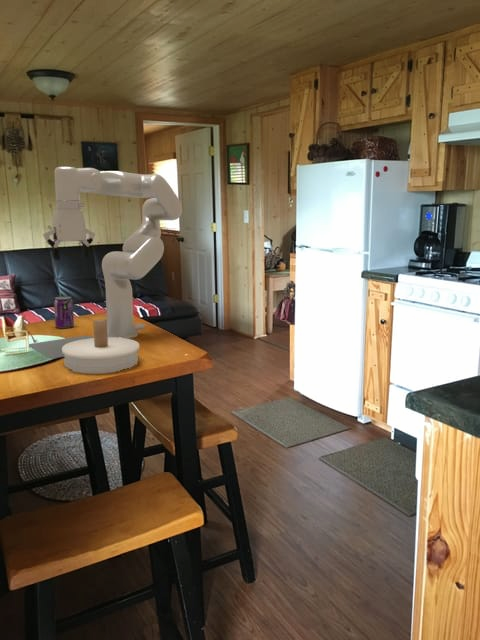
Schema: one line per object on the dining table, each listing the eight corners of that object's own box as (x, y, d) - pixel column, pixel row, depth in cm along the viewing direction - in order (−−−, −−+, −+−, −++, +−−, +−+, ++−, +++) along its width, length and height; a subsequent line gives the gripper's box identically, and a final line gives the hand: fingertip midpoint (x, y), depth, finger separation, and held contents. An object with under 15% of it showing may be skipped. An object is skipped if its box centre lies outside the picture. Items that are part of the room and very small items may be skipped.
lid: (117, 337, 184) (116, 310, 182) (153, 350, 166) (152, 321, 165) (50, 347, 169) (48, 318, 167) (81, 363, 152) (80, 332, 150)
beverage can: (70, 329, 215) (69, 299, 213) (52, 328, 216) (51, 298, 213) (76, 325, 222) (74, 296, 220) (59, 325, 222) (57, 296, 220)
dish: (149, 368, 165) (148, 352, 164) (75, 379, 154) (74, 362, 153) (123, 352, 184) (123, 337, 183) (56, 360, 172) (55, 345, 171)
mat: (87, 336, 203) (87, 335, 203) (117, 348, 186) (117, 347, 186) (25, 346, 188) (25, 344, 188) (52, 360, 171) (51, 358, 171)
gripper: (88, 206, 186) (90, 257, 189) (37, 205, 175) (40, 259, 178) (98, 206, 180) (100, 258, 184) (46, 206, 169) (50, 261, 172)
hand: (71, 259), depth 181 cm, fingers open, 9 cm apart
